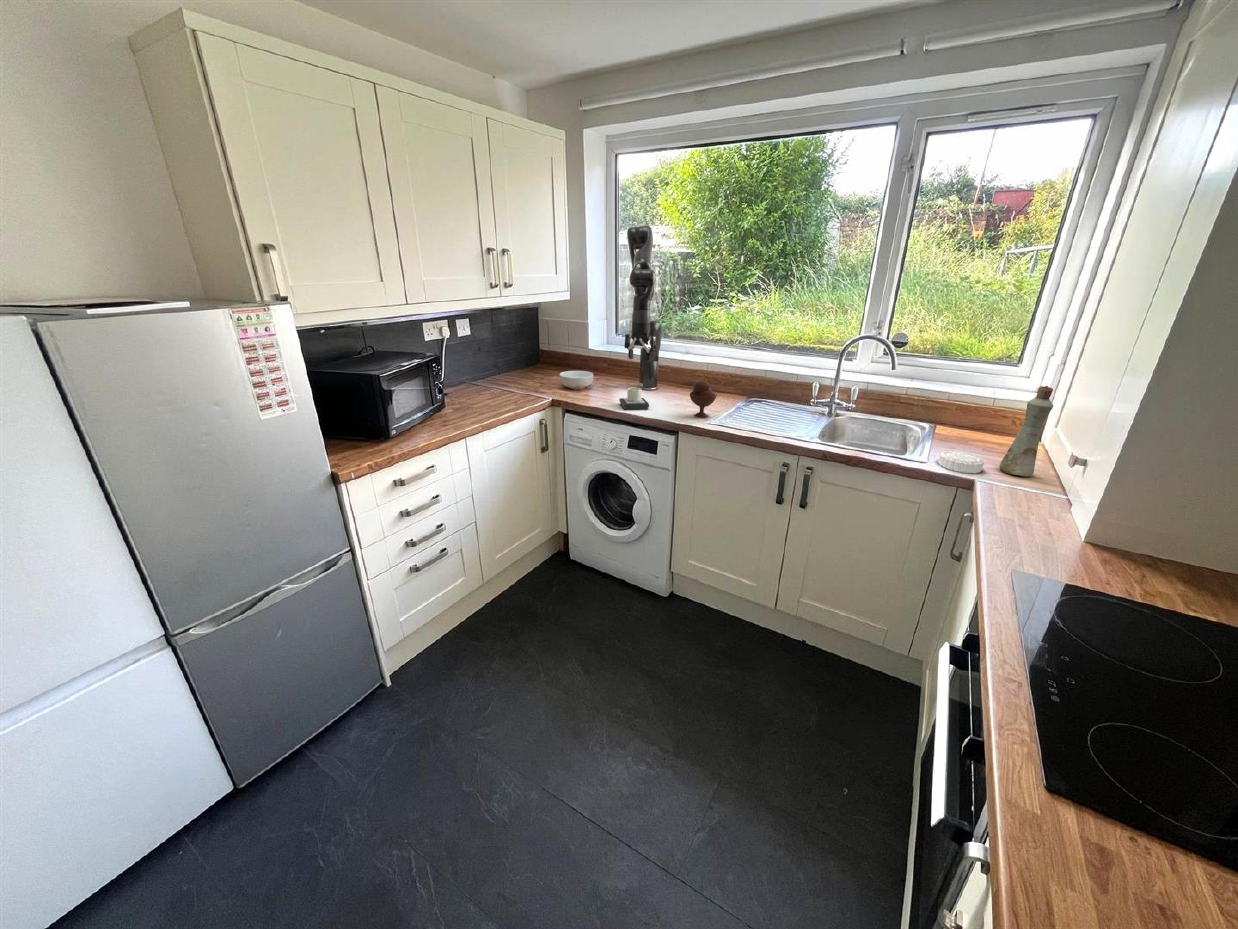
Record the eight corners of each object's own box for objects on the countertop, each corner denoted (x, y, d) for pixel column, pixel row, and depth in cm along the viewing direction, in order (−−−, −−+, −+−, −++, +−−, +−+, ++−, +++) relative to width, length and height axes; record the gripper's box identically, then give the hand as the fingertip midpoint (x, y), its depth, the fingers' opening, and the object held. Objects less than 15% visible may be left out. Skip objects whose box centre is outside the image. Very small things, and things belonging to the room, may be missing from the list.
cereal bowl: (564, 383, 258) (564, 369, 255) (595, 385, 256) (596, 371, 253) (555, 390, 242) (555, 375, 239) (589, 392, 240) (589, 378, 237)
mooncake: (985, 476, 154) (988, 465, 152) (940, 469, 158) (943, 458, 157) (977, 463, 164) (980, 453, 163) (935, 457, 168) (938, 447, 167)
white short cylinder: (625, 398, 219) (626, 387, 217) (639, 398, 220) (639, 387, 219) (628, 402, 214) (629, 390, 212) (642, 401, 215) (643, 390, 213)
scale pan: (623, 401, 220) (623, 398, 220) (640, 401, 222) (640, 397, 221) (626, 406, 213) (627, 402, 213) (645, 405, 215) (645, 402, 214)
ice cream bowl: (716, 420, 202) (720, 383, 197) (689, 419, 202) (692, 382, 197) (712, 413, 212) (716, 378, 207) (686, 412, 212) (689, 377, 207)
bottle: (1003, 475, 155) (1033, 386, 144) (994, 465, 163) (1022, 381, 152) (1036, 480, 152) (1070, 390, 142) (1026, 470, 160) (1057, 384, 150)
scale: (619, 403, 222) (619, 398, 221) (643, 403, 224) (643, 397, 223) (624, 410, 212) (624, 404, 211) (648, 409, 214) (649, 404, 213)
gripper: (621, 320, 207) (620, 359, 213) (651, 323, 199) (649, 363, 206) (631, 318, 213) (630, 357, 219) (660, 321, 205) (658, 361, 211)
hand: (639, 360), depth 212 cm, fingers open, 8 cm apart
